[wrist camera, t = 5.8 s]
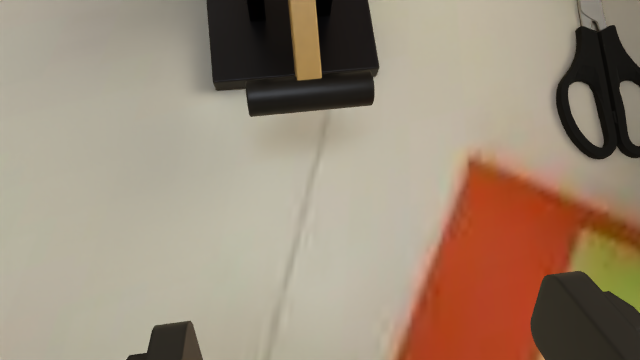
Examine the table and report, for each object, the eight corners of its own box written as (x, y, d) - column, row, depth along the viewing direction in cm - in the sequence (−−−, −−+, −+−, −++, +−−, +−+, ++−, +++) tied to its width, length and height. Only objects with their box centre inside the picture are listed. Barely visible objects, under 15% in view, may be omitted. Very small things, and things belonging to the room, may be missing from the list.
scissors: (515, -104, 33) (563, 162, 28) (521, -114, 32) (572, 158, 28) (603, -103, 33) (664, 158, 29) (611, -113, 33) (675, 154, 28)
